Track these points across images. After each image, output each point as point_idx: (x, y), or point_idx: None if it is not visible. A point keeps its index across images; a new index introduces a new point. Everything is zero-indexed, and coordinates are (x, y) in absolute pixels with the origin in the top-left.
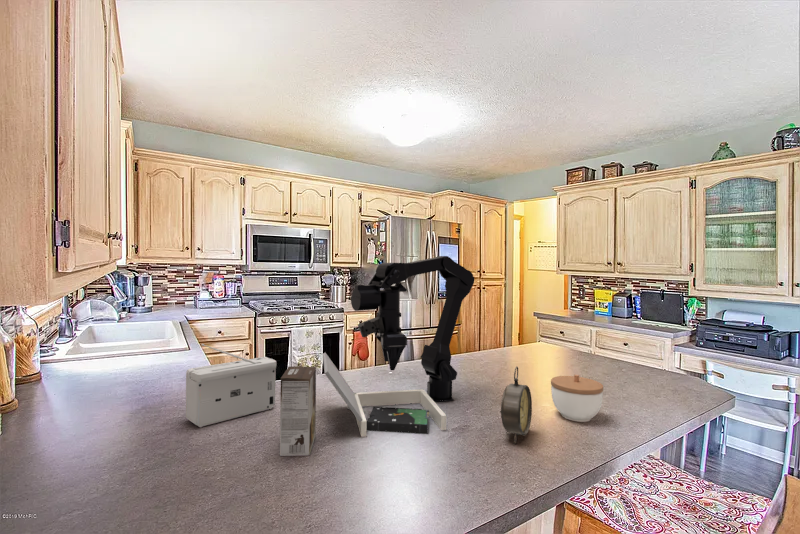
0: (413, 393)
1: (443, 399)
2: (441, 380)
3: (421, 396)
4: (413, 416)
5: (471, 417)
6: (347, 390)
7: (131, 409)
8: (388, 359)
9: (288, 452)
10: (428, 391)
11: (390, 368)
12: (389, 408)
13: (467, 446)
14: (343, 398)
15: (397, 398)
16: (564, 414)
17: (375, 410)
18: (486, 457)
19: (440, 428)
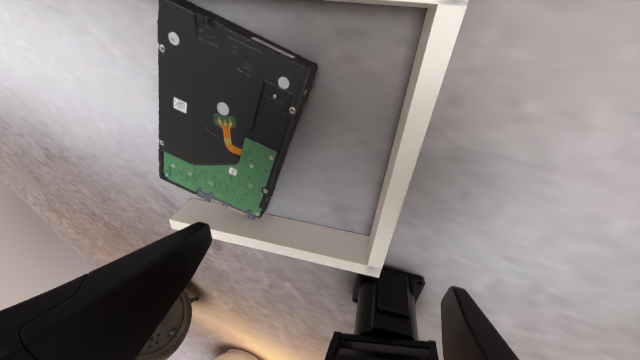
0: (372, 243)
1: (357, 285)
2: (343, 333)
3: (354, 251)
4: (209, 168)
5: (255, 272)
6: None
7: None
8: (123, 271)
9: None
10: (392, 284)
11: (188, 227)
12: (287, 127)
13: (132, 203)
14: None
15: (384, 189)
16: (231, 354)
17: (266, 66)
18: (101, 207)
19: (197, 200)
